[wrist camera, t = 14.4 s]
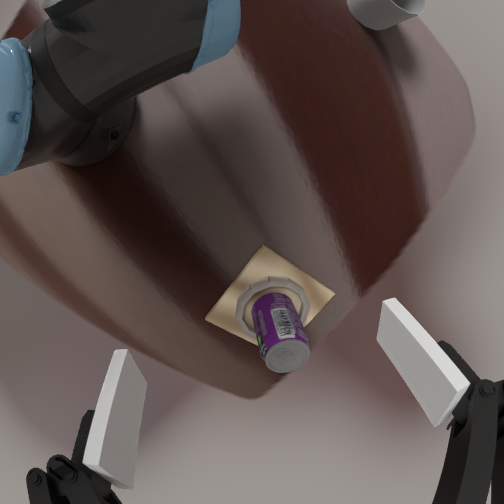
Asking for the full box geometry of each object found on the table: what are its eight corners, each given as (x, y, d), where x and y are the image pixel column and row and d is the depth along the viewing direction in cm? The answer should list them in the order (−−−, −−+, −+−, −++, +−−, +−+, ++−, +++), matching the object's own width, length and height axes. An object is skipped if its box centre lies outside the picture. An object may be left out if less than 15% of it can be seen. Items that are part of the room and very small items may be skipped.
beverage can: (241, 311, 46) (250, 363, 35) (270, 282, 44) (288, 330, 33) (272, 330, 48) (287, 380, 37) (300, 303, 46) (323, 351, 36)
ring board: (276, 351, 51) (279, 359, 49) (205, 316, 46) (205, 325, 44) (333, 291, 47) (338, 298, 45) (263, 243, 42) (265, 249, 40)
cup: (398, 25, 29) (434, 11, 20) (366, 35, 30) (401, 18, 21) (371, -12, 26) (402, -33, 17) (337, -5, 27) (366, -30, 18)
